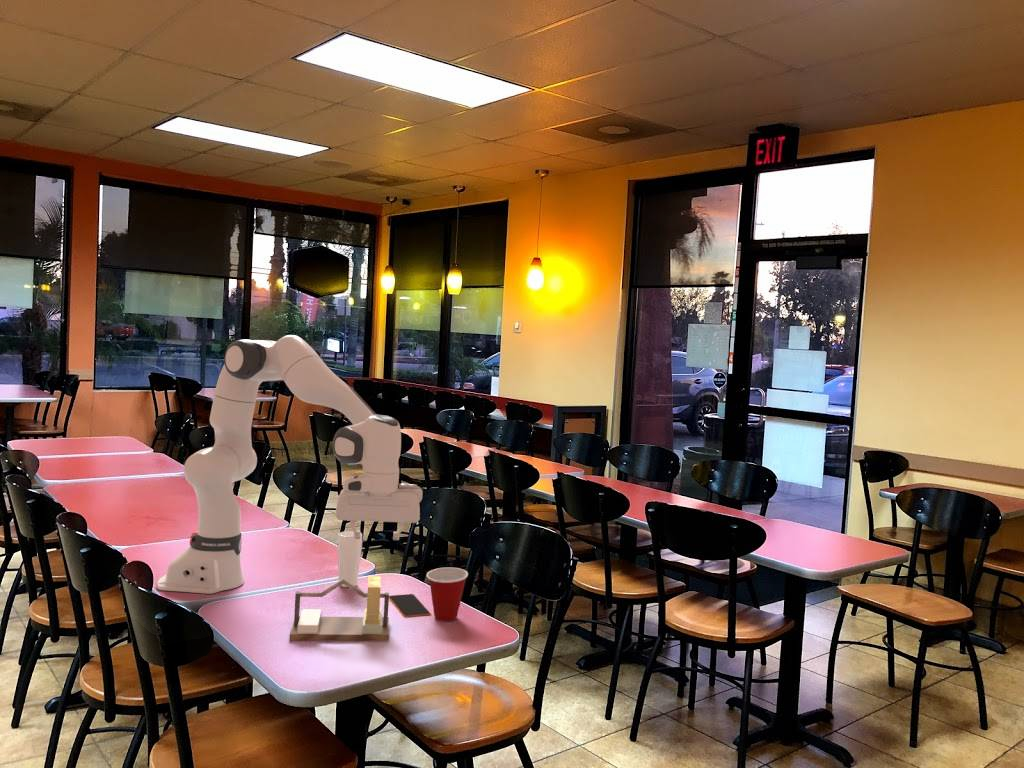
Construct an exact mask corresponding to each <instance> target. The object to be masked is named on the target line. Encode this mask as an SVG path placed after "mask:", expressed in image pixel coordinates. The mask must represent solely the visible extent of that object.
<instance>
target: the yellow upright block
mask: <svg viewBox="0 0 1024 768" xmlns="http://www.w3.org/2000/svg"><path fill="white" fill-rule="evenodd" d="M381 577H382V576H381V575H368V580H367V593H368V594H367V598H366V607H365V610H366V614H365V624H380V610H381V607H380V605H381V604H380V603H381V598H380V593H381V590H382V589H381V587H382V586H381V583H382V582H381V581H382V580H381Z"/></svg>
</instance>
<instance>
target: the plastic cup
mask: <svg viewBox="0 0 1024 768" xmlns="http://www.w3.org/2000/svg"><path fill="white" fill-rule="evenodd" d="M468 576H469V572H468V571H467V570H466V569H462V568H459V567H448V566H447V567H439V568H435V569H431V570H429V571H428V572H427V573H426V578H427V579H428V582H429V587H430V593H431V603H432V608H433V617H434V619H435V620H437V621H441V622H453V621H455V620H457V617H458V613H459V609H460V607H461V600H462V595H463V592H464V588H465V583H466V581H467V578H468Z"/></svg>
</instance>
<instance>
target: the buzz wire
mask: <svg viewBox="0 0 1024 768" xmlns="http://www.w3.org/2000/svg"><path fill="white" fill-rule="evenodd" d="M342 584H345V585H346V586H347V587H349V589H350V590H352V591H353V592H355V593H356V594H357V595H359V596H360V597H362V598H366V599H367V594H368V592H367V593H366V592H363V591H362V590H361V589H359V588H357V587H356V586H354V585H352V584H351V583H349V582H348V581H347V580H345V579H342V580H340V581H339V580H338V581H337V582H336V583H334V584H333V585H331V586H329V587H328V588H326V589H325V590H323V591H322V592H301V591H295V594H294V595H295V597H294V601H295V602H294V615H293V617H294V618H293V622H292V626H291V629H290V631H289V638H288V639H289V641H291V642H292V641H298V642H300V641H303V642H304V641H305V642H307V641H309V642H310V641H315V642H316V641H319V642H320V641H322V642H323V641H326V642H329V641H330V642H331V641H332V642H333V641H335V642H337V641H338V642H342V641H343V642H351V641H352V642H353V641H354V642H358V641H359V642H367V641H368V642H374V641H375V642H389V640H390V617H389V606H390V605H389V602H390V600H389V596H390V592H384V593H383V592H382V593H381V592H380V599H381V598H382V599H383V598H384V603H383V616H382V634H362V628H363V616H321V620H320V624H319V629H318V633H317V634H297V630H298V623H299V619H300V616H301V615H300V609H301V608H300V607H301V598H323V597H325V596H326V595H327V594H329V593H331V592H333V591H334V590H336V589H337V588H339V587H341V586H340V585H342Z"/></svg>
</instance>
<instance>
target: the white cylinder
mask: <svg viewBox="0 0 1024 768" xmlns="http://www.w3.org/2000/svg"><path fill="white" fill-rule="evenodd" d="M362 547H363V533H362V532H360V539H354V532H353V530H344V531H341V532H339V533H338V538H337V563H338V564H337V565H338V567H337V568H338V582H339V581H340V580H342V579H345V580H347V581H348V582H349V583H351V584H352V585H354V586H355V587H356V586H357V585H358V581H359V580H358V578H359V570H360V564H361V563H360V562H361V557H362V549H363V548H362ZM341 586H342V587H341ZM339 587H341V588H346V587H347V586H346V585H345V584H342V585H340V586H339Z"/></svg>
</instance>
